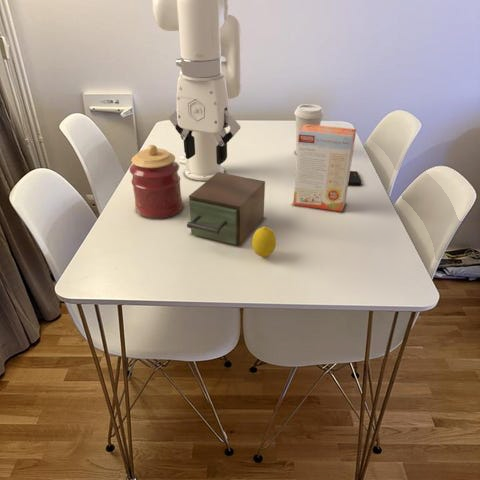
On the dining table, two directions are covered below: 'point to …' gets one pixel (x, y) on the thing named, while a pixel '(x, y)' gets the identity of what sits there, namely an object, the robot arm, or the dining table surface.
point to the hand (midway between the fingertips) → (205, 159)
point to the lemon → (264, 241)
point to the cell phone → (354, 178)
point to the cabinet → (235, 199)
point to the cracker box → (323, 166)
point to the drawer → (213, 221)
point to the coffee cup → (307, 117)
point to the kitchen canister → (156, 183)
